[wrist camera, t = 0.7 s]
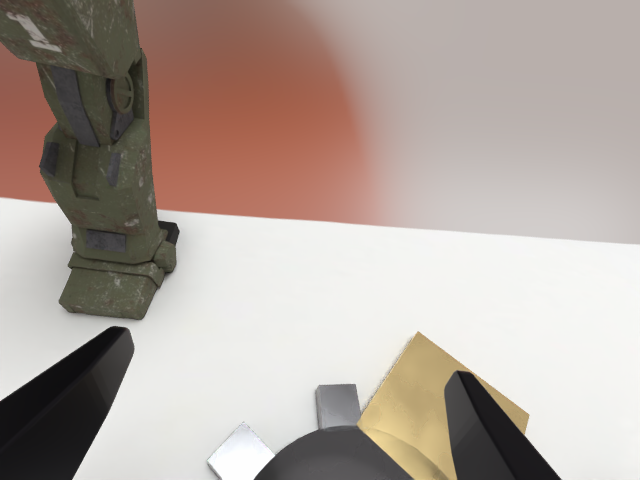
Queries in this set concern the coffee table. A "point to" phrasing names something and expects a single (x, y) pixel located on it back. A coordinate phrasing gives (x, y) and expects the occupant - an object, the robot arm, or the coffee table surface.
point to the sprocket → (367, 429)
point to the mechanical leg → (97, 148)
